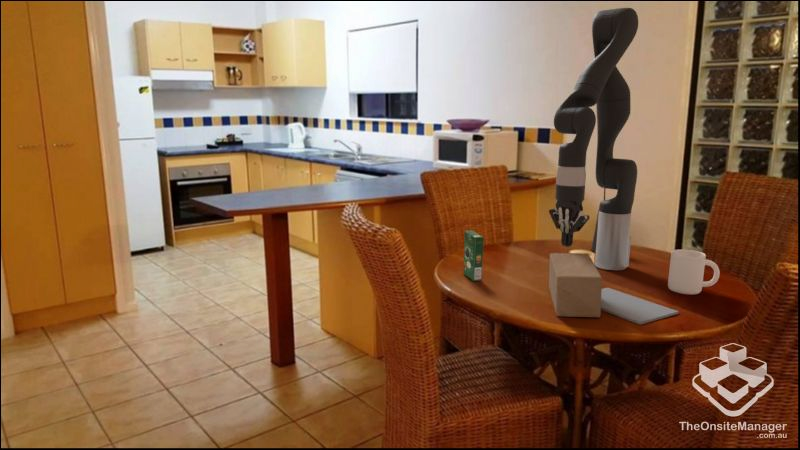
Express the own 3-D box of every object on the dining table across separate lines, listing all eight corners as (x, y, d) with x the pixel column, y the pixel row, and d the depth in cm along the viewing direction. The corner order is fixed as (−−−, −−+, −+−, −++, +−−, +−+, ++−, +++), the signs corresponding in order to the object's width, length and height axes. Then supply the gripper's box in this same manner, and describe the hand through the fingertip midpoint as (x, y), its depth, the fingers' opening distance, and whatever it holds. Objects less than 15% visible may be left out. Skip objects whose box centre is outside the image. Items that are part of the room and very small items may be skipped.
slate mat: (607, 289, 155) (607, 287, 155) (678, 313, 137) (678, 311, 137) (570, 298, 148) (570, 295, 148) (640, 324, 131) (640, 322, 130)
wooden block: (587, 289, 153) (600, 318, 133) (548, 288, 154) (556, 317, 135) (588, 252, 150) (602, 277, 131) (549, 252, 152) (557, 276, 133)
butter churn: (618, 256, 190) (625, 171, 184) (588, 254, 191) (594, 170, 186) (613, 249, 199) (619, 168, 193) (584, 248, 200) (590, 167, 194)
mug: (715, 289, 156) (720, 252, 154) (718, 298, 148) (723, 260, 146) (667, 283, 160) (671, 248, 158) (667, 292, 153) (671, 255, 151)
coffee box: (482, 281, 162) (484, 236, 160) (473, 282, 162) (474, 236, 159) (471, 273, 170) (473, 230, 167) (462, 274, 169) (463, 230, 166)
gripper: (600, 185, 150) (595, 249, 153) (562, 179, 161) (558, 239, 165) (579, 187, 146) (575, 253, 150) (542, 181, 157) (539, 242, 161)
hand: (566, 245), depth 157 cm, fingers closed
